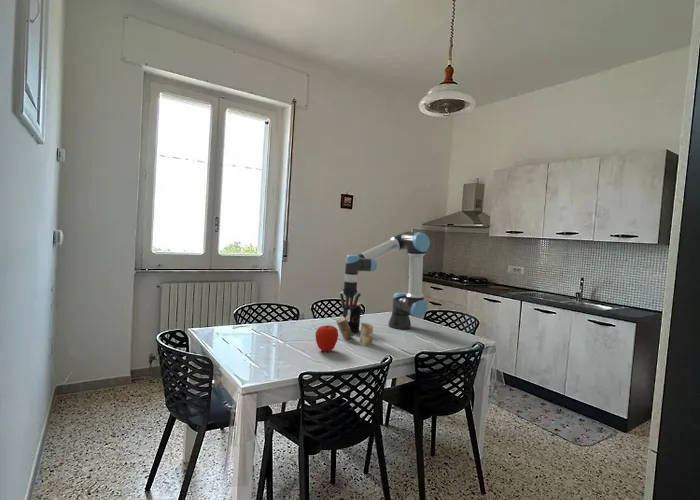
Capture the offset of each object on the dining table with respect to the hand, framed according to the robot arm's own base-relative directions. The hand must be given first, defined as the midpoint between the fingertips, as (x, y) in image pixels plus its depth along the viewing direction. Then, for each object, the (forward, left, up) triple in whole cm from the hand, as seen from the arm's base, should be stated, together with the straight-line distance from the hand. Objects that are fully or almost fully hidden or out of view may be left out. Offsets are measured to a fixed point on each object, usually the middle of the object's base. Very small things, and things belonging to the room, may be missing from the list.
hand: (347, 321), depth 230 cm
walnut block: (-1, 0, -9) cm, 9 cm away
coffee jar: (-7, -14, -10) cm, 19 cm away
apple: (+18, +21, -10) cm, 29 cm away
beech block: (-8, +11, -10) cm, 17 cm away
